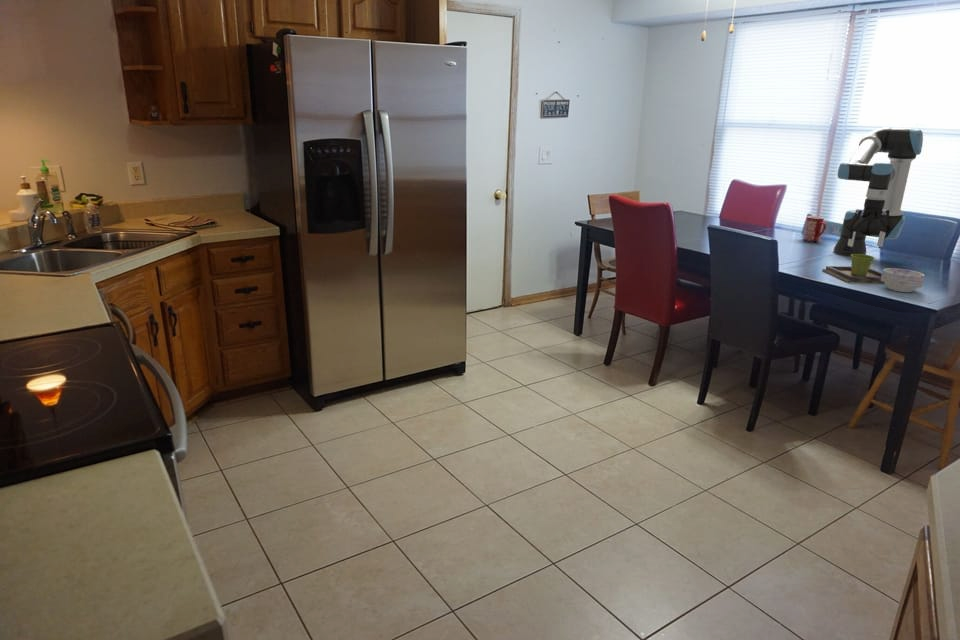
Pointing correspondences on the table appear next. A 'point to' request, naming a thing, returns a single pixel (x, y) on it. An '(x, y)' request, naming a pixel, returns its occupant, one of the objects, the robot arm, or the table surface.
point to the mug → (814, 228)
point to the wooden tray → (846, 275)
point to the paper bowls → (902, 279)
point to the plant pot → (860, 264)
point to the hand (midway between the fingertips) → (864, 246)
